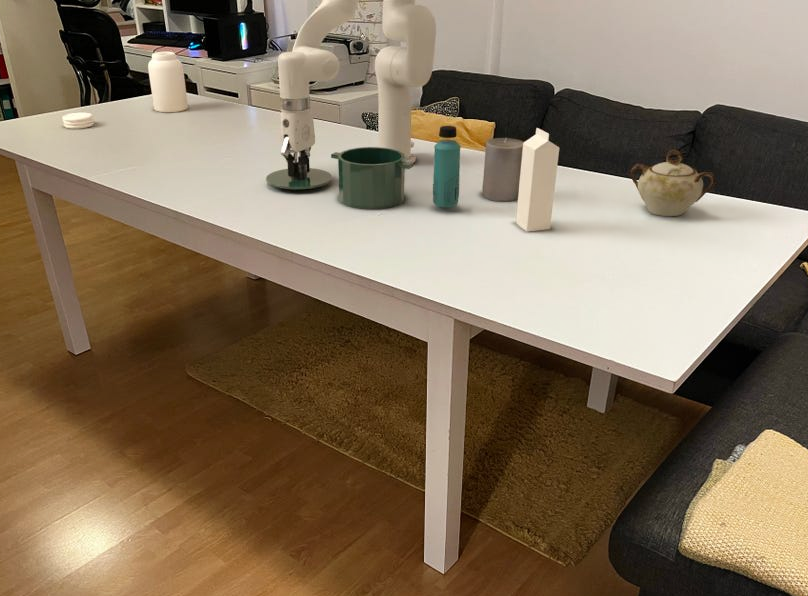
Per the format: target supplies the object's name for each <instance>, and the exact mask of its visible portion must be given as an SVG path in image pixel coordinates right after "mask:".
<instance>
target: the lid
mask: <svg viewBox="0 0 808 596" xmlns="http://www.w3.org/2000/svg"><path fill="white" fill-rule="evenodd" d="M265 181H266V183H267V184H268V185H270V186H272V187H274V188H277V189H285V190H308V189H316V188H320V187H323V186H324V187H325V186H326V185H328V184H330V183H331V182H332V181H333V175H332V173H331V172H329V171H326V170H324V169H319V168H313V167H310V172H308V173H307V163H305V162H299V177H298V178H295V177H289V176H288V168H283V169H279V170H276V171H273V172H270V173H269V174H268V175H266V177H265Z"/></svg>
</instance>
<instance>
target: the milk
mask: <svg viewBox="0 0 808 596" xmlns="http://www.w3.org/2000/svg"><path fill="white" fill-rule="evenodd" d="M549 139H550V134H549V132H546V131H544V130H543V129H541V128H538V127H536V129H535V134H534V135H533V136H531V137H529V138H528V139H527V140H525V141H523V142H524V143H523V151H522V162H521V172H520V183H519V194H518V199H517V203H516V205H517V206H516V214H515V215H516V217H515V223H516V225H518V226H519V227H520V228H522V229H523V230H524V231H525V232H527V233H528V232H535V231H547V230H551V222H552V213H553V206H554V197H555V190H556V189H555V188H556V181H557V172H558V164H559V163H558V162H559V153H560V147H559V146H557V144H555V143H553V142H552V141H550V140H549Z"/></svg>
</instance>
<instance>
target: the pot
mask: <svg viewBox="0 0 808 596" xmlns="http://www.w3.org/2000/svg"><path fill="white" fill-rule="evenodd" d="M330 158H331V159H333V160H337V165H338V197H339V198H338V199H339V201H340V203H341V204H343V205H344V206H347V207H350V208H354V209H362V210H383V209H388V208H393V207H396V206H398V205H400V204H402V203H403V201H404V199H405V180H406V178H405V177H406V176H405V174H406V173H405V172H406V170H410V169H412V168H414V163H410V162H405V156H404V154H403V153H402V152H400V151H398V150H394V149H390V148H382V147H379V146H366V147H364V146H363V147H355V148H349V149H346V150H343V151H341V152H337V151H334V152H333V153H331V154H330Z"/></svg>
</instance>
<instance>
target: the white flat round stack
mask: <svg viewBox="0 0 808 596" xmlns="http://www.w3.org/2000/svg"><path fill="white" fill-rule="evenodd" d="M61 119H62V123H63V127H64V128H65V129H70V130H71V129H72V130H79V129H87V128H91V127H93V126H94V125H95V122H94V115H93V114H92V113H89V112H73V113H68V114H64V115H62V118H61Z"/></svg>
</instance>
